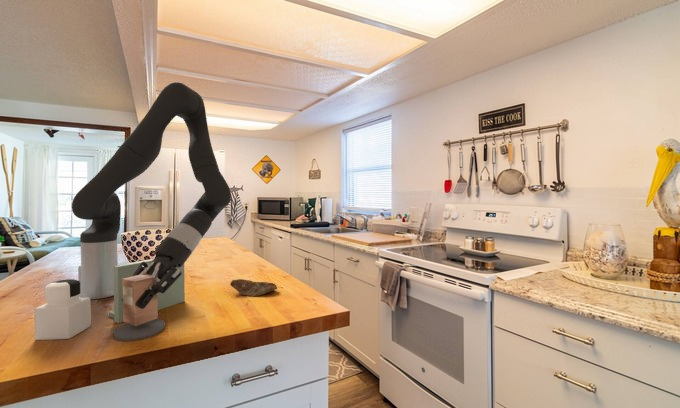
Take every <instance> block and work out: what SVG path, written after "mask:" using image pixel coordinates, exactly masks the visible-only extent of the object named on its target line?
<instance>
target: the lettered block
mask: <svg viewBox="0 0 680 408" xmlns="http://www.w3.org/2000/svg"><path fill="white" fill-rule="evenodd" d="M151 276H152V275H148V274H145V275H137V276H132V277H127V278H123V279H122V289H123V322H122V323H125V324H126V323H129V324H131V325H134V326H137V325H140V324H143V323H146V322H148V321H151V320H154V319H159V315H158V314H159V313H158V312H159V310H158V306H157V295H154V297H153V298H152V299H151V301H150V302H149V303H148V304H147V306H146V307H145V308H144V309H141V308H139V307H137V306H136V305H135V303H136V302H137V300H138V299H139V298H140V297H141V295H142V294H143V293H144V292H145V290H148V286H149V285H150V283H151V282H152V278H153V277H151ZM156 284H157V283H155V285H156ZM155 285H154V286H155Z"/></svg>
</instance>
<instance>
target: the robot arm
mask: <svg viewBox="0 0 680 408" xmlns="http://www.w3.org/2000/svg"><path fill="white" fill-rule="evenodd" d="M206 113H207V112H206V107H205V103H204V99H203V97H202V96H201V95H200V94H199V93H198V92H196V90H194V89H192V88H191V87H189V86H188V85H186V84H184V83H183V82H180V81H172V82H169V83H168V84H167V85H165V87H163V88H162V90H161V91H160V92H159V94H158V96H156V99H155V100H154V101H153V104H152V105H151V107H150V108H149V110H148V111H147V113H146V114H145V116H143V118H142V120H140V122H139V123H138V125H137V126H136V127H135V128H134V129H133V131H132V132H131V133H130V134H129V136H127V138H126V139H125V140H124V141H123V143H122V144H121V145H120V146H119V147H118V148H117V150H116V151H115V153H114V154H113V156H111V157H110V159H109V160H108V161H107V162H106V163H105V165H104V166H103V167H102V168H100V170H99V172H98V173H97V174H96V175H94V176H93V178H91V179H90V180H89V181H88V183H86V184H85V185H84V186H83V187H82V188H81V189H80V190H79V191H78V192H76V194H75V196H74V197H73V199H72V202H71V211H72V214H73V215H74V216H75V217H76V218H79V219H80V220H85V221H87V220H89V221H92V222H91V224H90V226H89V227H88V228H87V229H85V230H84V231H82V232H81V233H80V240H79V241H80V265H79V266H78V267H77V270H78V277H77V278H78V281H79V282H80V297H79V298H85V297H89V298H90V300H99V299H104V298H110V297H114V273H113V266H117V265H119V263H118V261H119V260H118V258H119V257H118V255H119V254H118V252H119V251H118V234H119V232H120V229H121V214H122V213H121V212H122V211H121V210H122V209H121V208H122V206H121V205H122V204H121V200H120V198H119V195H118V194H117V193H116V191H117V190H118V189H119V188H121V187H123V186H124V185H126V184H127V183H129V182H131V181H133V180H134V179H136V178H137V177H139V176H141V175H142V174H143V173H144V172H145V171H147V170H148V168H149V167H151V165H152V164H153V163H154V162H155V160H156V159H157V158H158V157H159V155H160V153H161V149H162V142H163V137H164V136H163V135H164V132H165V131H166V129H167V128H168V127H167V126H169V125H170V123H171V121H173V120H174V119H175V118H176V116H177V117H179V118H181V119H183V120H182V121H184V123H185V125H186V127H187V130H188V134H189V144H188V158H189V164H190V165H191V169H192V172H193V175H194V178H195V180H196V181H197V182H199V183H201V184H202V186H203V188H204V192H203V194H202V195H201V196H200V198H199V199H198V200H197V201H196V203H195V204H194V205H193V207H192V208H191V209H190V211H188V212H187V213H186V214H185V216H184V217H182V219H181V220H180V222H179V223H178V224H177V225H176V226H175V227H173V228H172V230H170V231H169V233H168V234H167V235H166V236H165V237H164V238H163V240H162V241H161V242H160V244H158V246H157V247H156V248H155V250H154V255H155V257H154V258H152V259H153V260H152V261H151V262H150V263H145V262H142V263H141V264H140V265H139V267H138V268H137V270H136V271H135V273H134V274H133V276H137V275H145V274H148V275H152V276H151V277H153V278H152V282H151V283H150V285H149V286H148V290H145V292H144V293H143V294H142V295H141V297H140V298H139V299H138V300H137V302H136V303H135V305H136V306H137V307H139V308H141V309H144V308H145V307H146V306H147V304H148V303H149V302H150V301H151V299H152V298H153V297H154V295H157V294H158V293H160V292H161V293H164V292H165V291H166V290H167V289H168V288H169V287H170V286H171V285H172V284H173V283H174V282H175V281H176V280H177V279H178V278H179V277H180V276H181V274H182V273H181V272H180V271H179V270H178V269H177V267H182V266H183V264H184V265H185V263H186V262H187V261H188V259H189V257H190V256H191V255H192V254H193V253H194V251H195V250H196V249H197V247H198V245H199V244H200V243H201V240H202V238H203V237H204V236H205V234H206V233H207V232H208V231H209V229H210V228H211V226H212V223H213V222H214V220H215V219H216V217H217V216H218V215H219V214H220V213H221V212H222V211H223V210H224V209H225V208H226V207H227V206H228V205H229V204H230V203H231V200H232V193H231V192H232V191H231V188H230V186H229V184H228V182H227V181H226V179H225V178H224V176H223V174H222V173H221V172H220V169H219V165H218V162H217V158H216V155H215V153H214V150H213V147H212V143H211V142H212V141H211V137H210V133H209V132H210V131H209V127H208V126H209V125H208V120H207V114H206ZM166 282H167V284H166V285H165V283H166ZM155 283H157V284H156V285H155ZM154 285H155V286H154ZM164 285H165V286H164ZM162 286H164V287H162ZM121 301H122V302H123V298H122V299H121Z"/></svg>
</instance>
